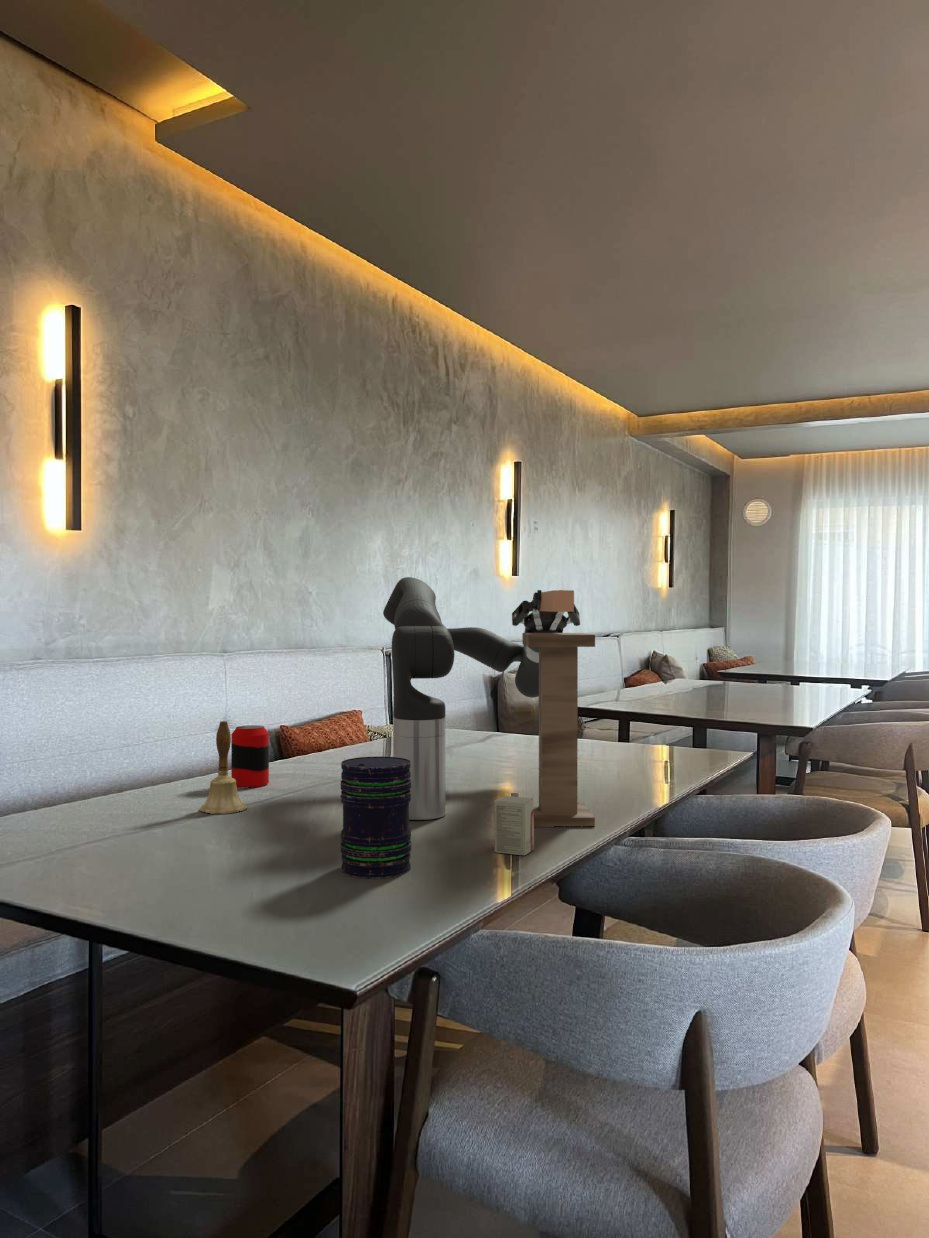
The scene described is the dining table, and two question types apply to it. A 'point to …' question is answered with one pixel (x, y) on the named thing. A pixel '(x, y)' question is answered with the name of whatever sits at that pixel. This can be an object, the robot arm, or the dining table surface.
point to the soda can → (250, 756)
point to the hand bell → (223, 780)
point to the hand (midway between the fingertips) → (550, 594)
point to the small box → (514, 825)
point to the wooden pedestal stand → (559, 729)
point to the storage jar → (375, 817)
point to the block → (557, 601)
